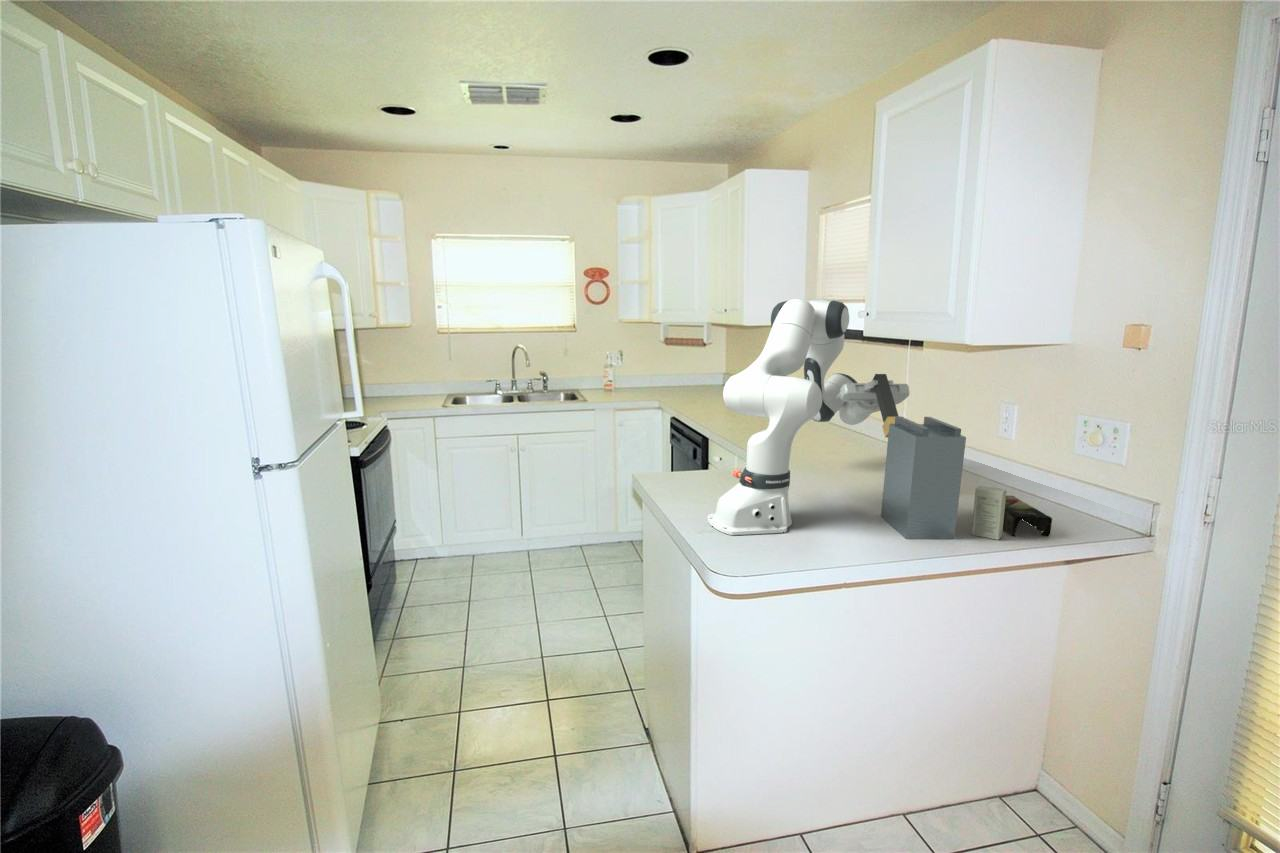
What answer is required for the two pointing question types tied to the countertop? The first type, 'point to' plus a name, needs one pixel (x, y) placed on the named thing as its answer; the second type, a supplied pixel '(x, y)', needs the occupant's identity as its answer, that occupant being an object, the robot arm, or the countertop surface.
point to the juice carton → (1024, 516)
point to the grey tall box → (923, 478)
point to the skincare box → (988, 512)
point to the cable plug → (885, 402)
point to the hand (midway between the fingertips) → (883, 382)
